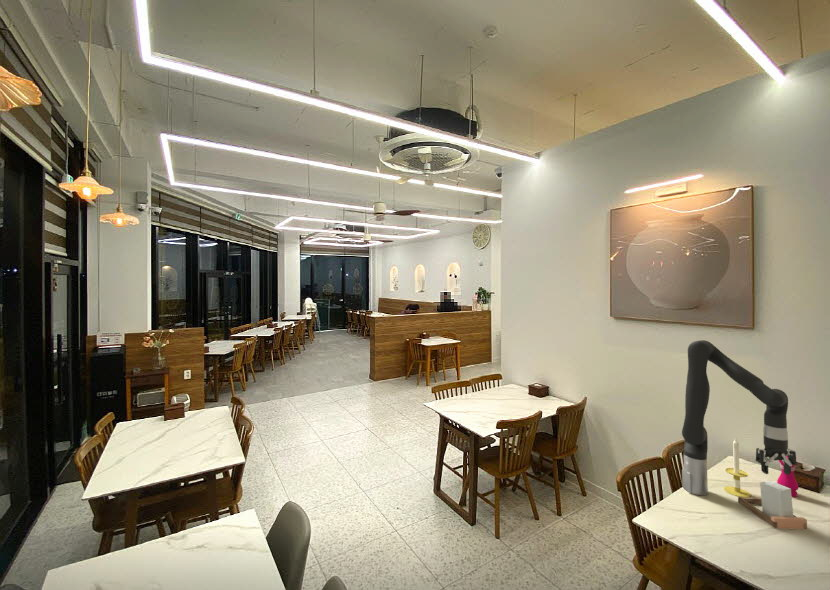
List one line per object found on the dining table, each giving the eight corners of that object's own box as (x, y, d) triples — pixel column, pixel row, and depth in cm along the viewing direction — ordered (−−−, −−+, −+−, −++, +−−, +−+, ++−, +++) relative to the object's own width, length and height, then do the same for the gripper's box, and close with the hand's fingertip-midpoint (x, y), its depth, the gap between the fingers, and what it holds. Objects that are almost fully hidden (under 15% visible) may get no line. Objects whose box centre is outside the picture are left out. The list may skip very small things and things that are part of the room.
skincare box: (794, 524, 153) (793, 489, 153) (783, 526, 152) (782, 490, 152) (771, 513, 161) (770, 479, 161) (760, 514, 160) (759, 481, 160)
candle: (748, 490, 180) (746, 435, 180) (753, 499, 172) (751, 442, 172) (722, 484, 185) (720, 432, 186) (725, 494, 177) (724, 438, 177)
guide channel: (774, 528, 151) (774, 522, 151) (738, 502, 170) (738, 497, 170) (807, 529, 150) (806, 523, 150) (766, 503, 169) (766, 497, 169)
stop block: (774, 528, 151) (774, 518, 151) (771, 525, 152) (770, 516, 152) (807, 529, 150) (806, 519, 150) (803, 527, 151) (803, 517, 151)
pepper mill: (803, 498, 172) (801, 456, 172) (785, 496, 174) (784, 455, 174) (790, 490, 179) (789, 449, 179) (773, 489, 181) (772, 448, 181)
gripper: (765, 439, 153) (765, 477, 153) (801, 439, 152) (802, 478, 152) (750, 432, 161) (751, 469, 161) (785, 433, 160) (786, 470, 159)
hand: (776, 473), depth 156 cm, fingers open, 8 cm apart
